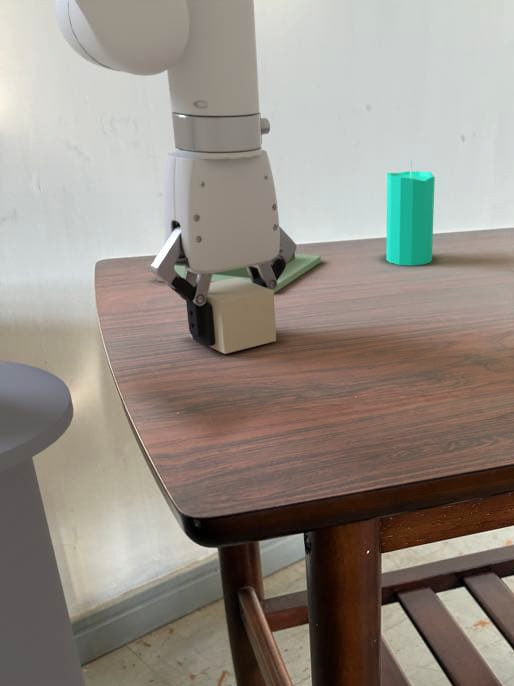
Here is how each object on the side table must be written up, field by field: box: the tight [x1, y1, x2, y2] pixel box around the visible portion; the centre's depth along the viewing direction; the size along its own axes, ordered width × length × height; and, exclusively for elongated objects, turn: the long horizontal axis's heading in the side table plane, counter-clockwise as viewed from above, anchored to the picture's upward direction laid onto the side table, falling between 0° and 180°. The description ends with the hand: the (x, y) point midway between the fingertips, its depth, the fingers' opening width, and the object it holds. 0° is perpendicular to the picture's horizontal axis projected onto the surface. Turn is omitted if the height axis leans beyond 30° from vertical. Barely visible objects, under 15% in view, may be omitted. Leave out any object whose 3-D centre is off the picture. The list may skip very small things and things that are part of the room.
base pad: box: [156, 251, 322, 294], centre depth 107 cm, size 15×15×3 cm
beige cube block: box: [190, 277, 277, 355], centre depth 85 cm, size 6×6×5 cm
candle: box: [385, 160, 436, 266], centre depth 111 cm, size 6×6×12 cm
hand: (233, 333), depth 86 cm, fingers closed on beige cube block, 6 cm apart
